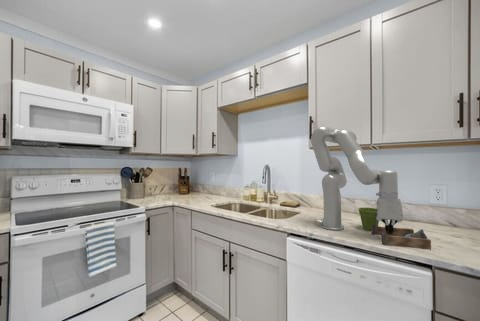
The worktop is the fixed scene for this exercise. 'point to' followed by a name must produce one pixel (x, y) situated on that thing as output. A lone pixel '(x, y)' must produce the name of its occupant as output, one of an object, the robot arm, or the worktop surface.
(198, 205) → the worktop surface
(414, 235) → the grey irregular lump
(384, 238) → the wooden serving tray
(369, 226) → the plant pot
